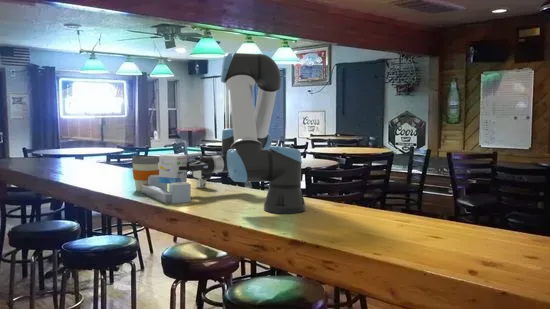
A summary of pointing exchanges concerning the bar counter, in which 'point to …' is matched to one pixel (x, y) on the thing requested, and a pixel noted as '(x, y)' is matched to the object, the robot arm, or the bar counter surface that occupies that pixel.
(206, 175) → the pneumatic valve
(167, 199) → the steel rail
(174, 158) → the ink box
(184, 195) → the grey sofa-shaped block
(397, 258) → the bar counter surface
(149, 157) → the reusable coffee cup
